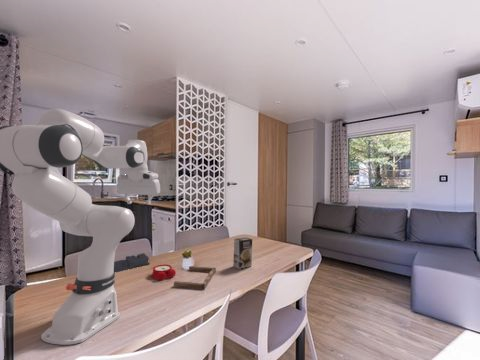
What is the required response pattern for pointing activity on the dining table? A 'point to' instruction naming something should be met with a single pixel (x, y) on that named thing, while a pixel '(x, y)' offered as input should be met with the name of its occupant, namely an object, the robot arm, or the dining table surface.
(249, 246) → the coffee box
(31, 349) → the dining table surface
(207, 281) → the brown frame
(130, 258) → the dark slate chunk
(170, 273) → the alarm clock
